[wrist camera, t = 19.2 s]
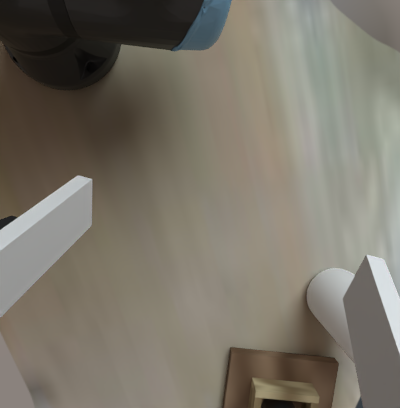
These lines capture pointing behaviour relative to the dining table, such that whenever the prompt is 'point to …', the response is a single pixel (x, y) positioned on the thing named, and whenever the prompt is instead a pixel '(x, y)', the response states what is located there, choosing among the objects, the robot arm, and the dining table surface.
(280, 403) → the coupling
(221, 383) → the dining table surface
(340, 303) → the potion bottle
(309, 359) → the socket
